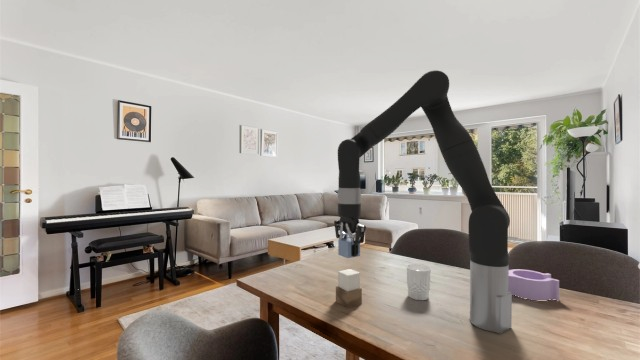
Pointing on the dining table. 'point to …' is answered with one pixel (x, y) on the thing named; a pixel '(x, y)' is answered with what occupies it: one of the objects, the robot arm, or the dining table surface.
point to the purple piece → (532, 285)
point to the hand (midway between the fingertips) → (349, 253)
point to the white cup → (418, 281)
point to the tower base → (348, 297)
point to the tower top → (348, 279)
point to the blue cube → (346, 248)
